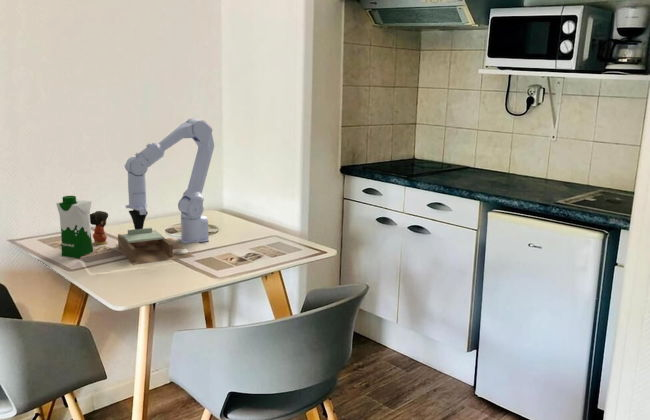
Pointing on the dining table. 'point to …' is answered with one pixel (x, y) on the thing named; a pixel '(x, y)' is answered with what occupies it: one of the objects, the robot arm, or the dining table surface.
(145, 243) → the tan domed cylinder
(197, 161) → the robot arm
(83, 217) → the milk carton
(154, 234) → the lid
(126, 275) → the dining table surface
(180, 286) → the dining table surface
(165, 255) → the brown wooden tray
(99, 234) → the figurine
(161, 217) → the dining table surface
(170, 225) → the dining table surface
